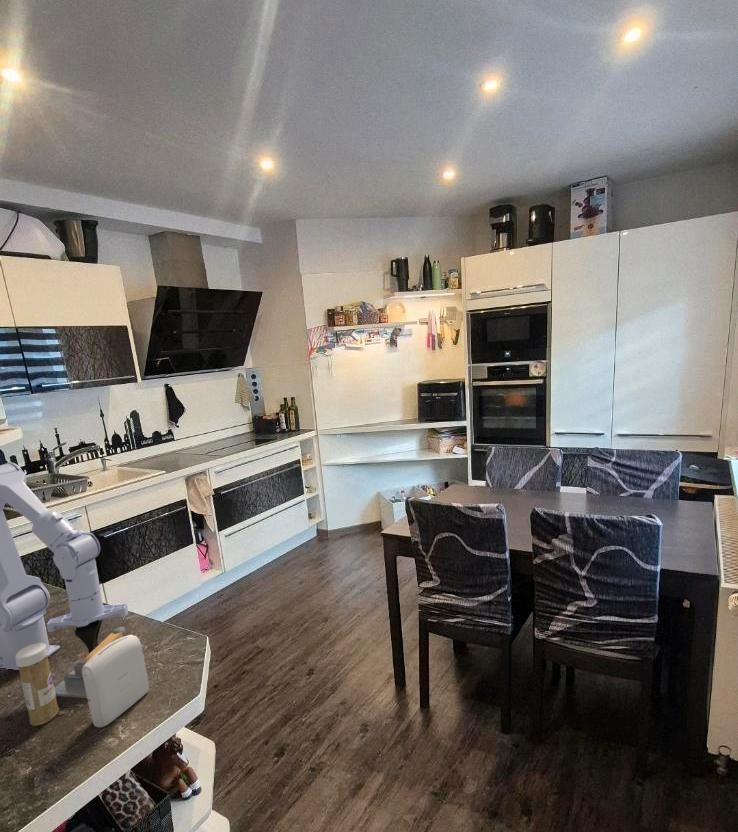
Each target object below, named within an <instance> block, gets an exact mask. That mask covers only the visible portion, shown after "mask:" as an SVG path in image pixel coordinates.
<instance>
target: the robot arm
mask: <svg viewBox="0 0 738 832" xmlns="http://www.w3.org/2000/svg"><path fill="white" fill-rule="evenodd" d="M6 503H7V504H8V506H11V508H13V509H14V510H15V511H17V513H19V514H20V515H22V516H23V517H24V518H26V519H27V520H28V521H30V522H31V523H32V528H31V532H32V533H33V534H34V535H35V536H36V537H37V538H38V539H39V540H40V541H41V542H42V543H43V544H44V545H45V546H46V547H47V548H48V549H49V550H50V551H51V552H52V553H53V556H52V560H53V563H54V565H55V566H56V567H57V569H58V570H59V575H60V577H61V579H64V582H65V583H64V584H65V589H66V595H67V600H68V606H69V611H70V613H68V614H64V615H60V616H57V617H54V618H49V620H48V622H47V623H45V622H46V621H45V618H44V615H46V613H47V610H46V609H47V608H48V607H49V606H50V604H51V603H50V602H51V595H50V592H49V590H48V589H47V588H46V587H45V585H44V584H43V582H42V580H41V577H38V576H33V575H28V574H27V572H26V570H25V568H24V565H23V562H22V559H21V556H20V554H19V551H18V549H17V548H18V547H17V545H16V543H15V539H14V537H13V534H12V532H11V529H10V526H9V523H8V521H7V518H6V514H5V512H4V507H5V505H6ZM100 552H101V544H100V542H99V539H98V538H97V537H96V535H95V534H93V533H92V532H89V531H85V530H82V529H79V530H78V529H77V528H76V527H75V526H74V525H73V524H72V523H71V522H70V521H69V519H67V518H66V517H65V516H64V515H63V514H61V513H60V512H59V511H55V510H53V511H50V510H49V509H48V508H47V507H46V506H45V504H44V503H43V502H42V501H41V499H39V497H37V496H36V494H35V493H34V492H33V491H32V490H31V489H30V487H29V486H28V485H27V475H26V473H25V472H24V471H23V470H22V467H20V466H19V465H18V464H16V463H15V462H6V463H4V464H1V465H0V665H3V666H1V667H0V668H6V669H5V670H8V669H13V670H12V671H19V668H18V666H17V664H16V658H15V656H16V654H17V653H18V652H19V651H20V650H21V649H23V648H25V647H27V646H29V645H32V644H35V643H45V644H46V646H47V651H48V654H47V655H48V656H47V658H48V657H50V656H51V655H52V654H54V653H55V652H57V651H58V650H60V648H61V647H60V645H53V644H52V645H51V644H50V642H49V637H48V633H54V632H55V631H56V630H59V629H64V628H71V627H74V626H75V630H74V635H75V637H77V638H78V639H80V640H81V641H82V642H83V644H84V645H85V646H86V647H87V649H88V655H89V654H90V653H91V652H92V651H93V650H94V649H95V648H96V647H97V646H98V645H99V641H98V640H99V634H100V630H101V628H102V627H101V626H102V623H103V621H104V620H109V619H113V618H119V617H121V618H125V617H127V615H128V614H129V607H128V603H124V604H108V605H107V604H106V605H105V604H104V602H103V597H102V592H101V586H100V585H101V584H100V580H99V574H98V568H97V561H96V558H97V557H98V556H99V554H100ZM46 627H47V628H46Z"/></svg>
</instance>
